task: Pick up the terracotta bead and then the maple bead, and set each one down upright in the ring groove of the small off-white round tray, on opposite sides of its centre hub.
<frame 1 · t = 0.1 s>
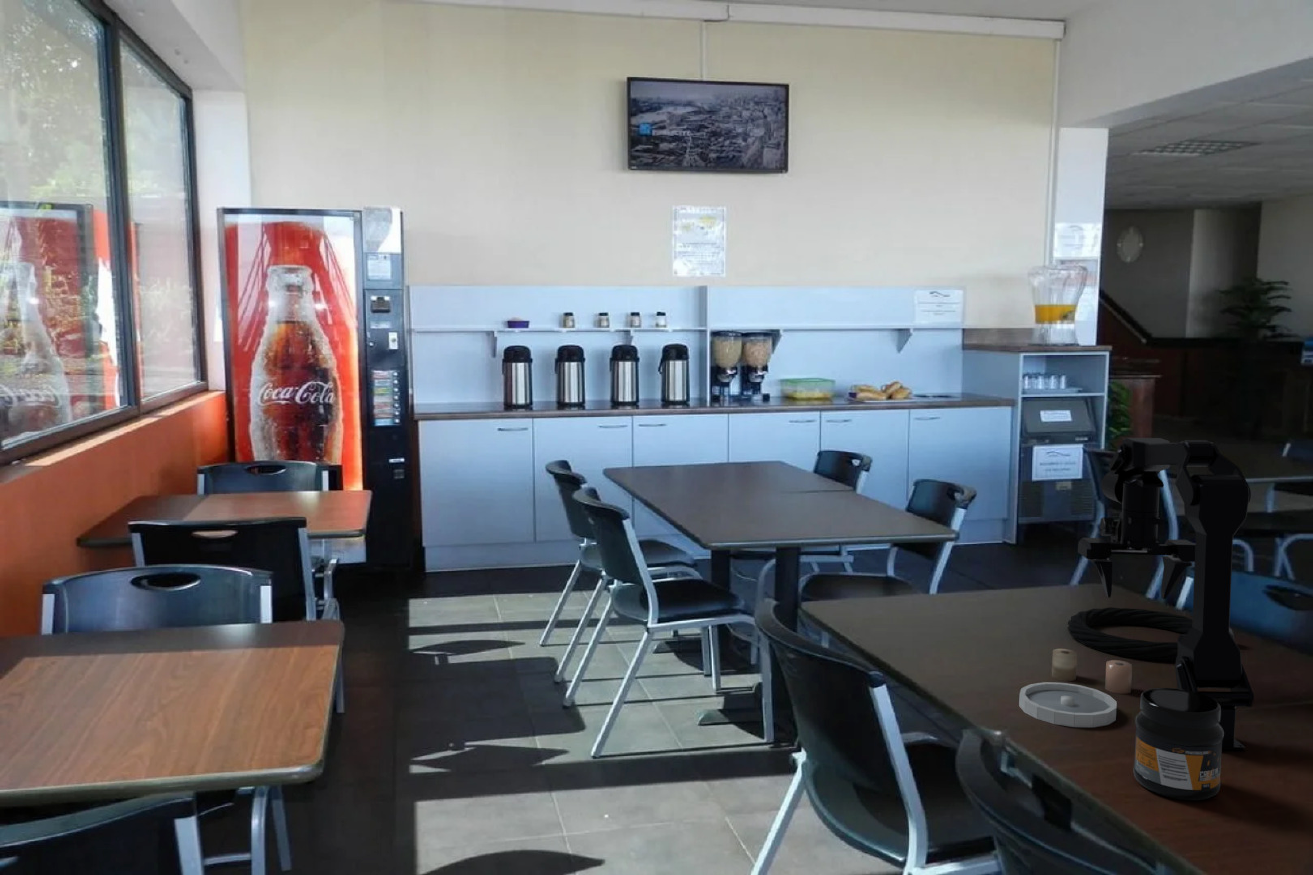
hand: (1135, 597, 177), 14 cm above the table, tool pointing down, fingers open, 9 cm apart
supplement container: (1175, 787, 136), on the table
maple bead: (1063, 677, 179), on the table
terracotta bead: (1117, 689, 173), on the table
cable lock: (1148, 643, 200), on the table
ring tray: (1067, 709, 164), on the table
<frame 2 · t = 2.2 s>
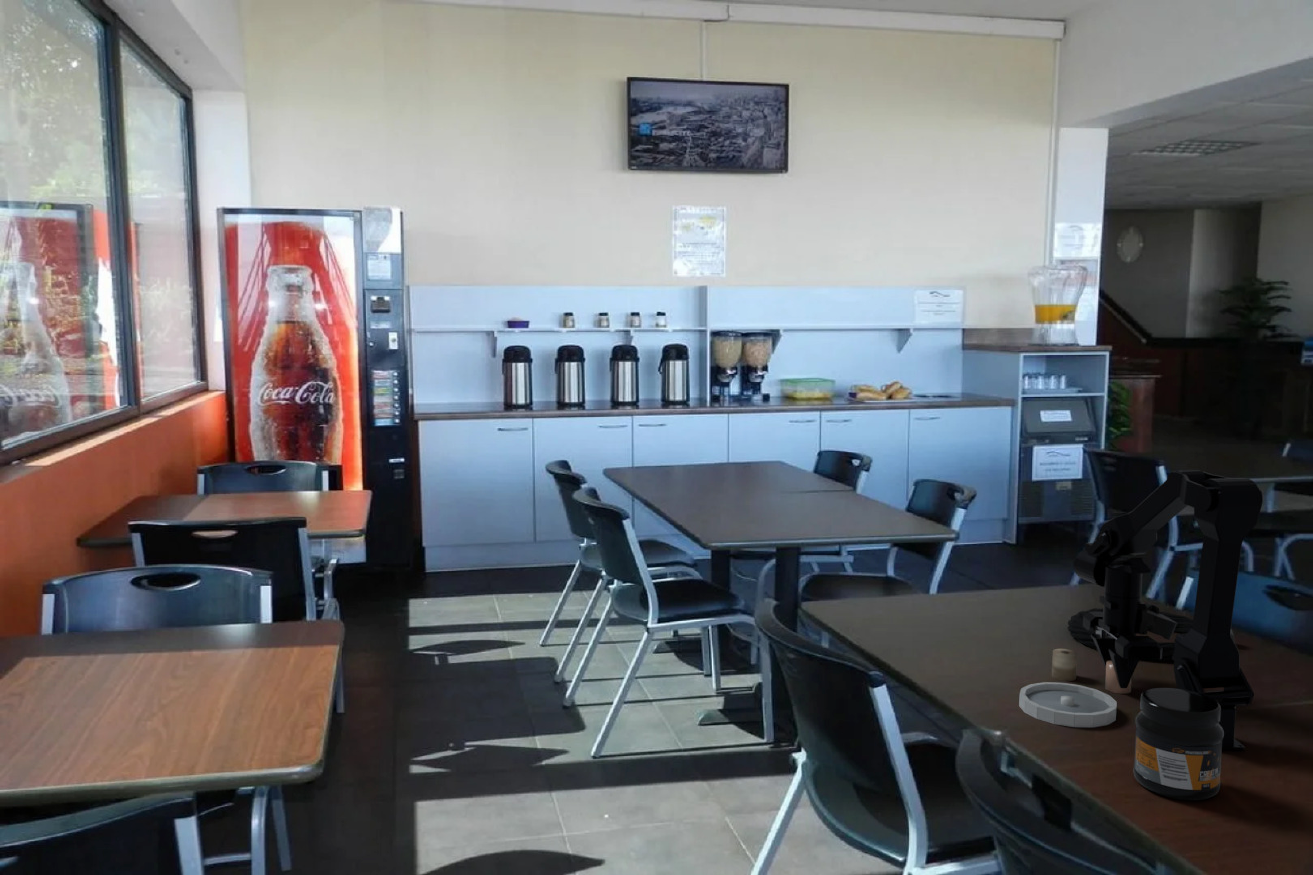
hand: (1118, 683, 173), 1 cm above the table, tool pointing down, fingers closed on terracotta bead, 4 cm apart
terracotta bead: (1117, 689, 173), on the table, touching gripper
everything else where it was.
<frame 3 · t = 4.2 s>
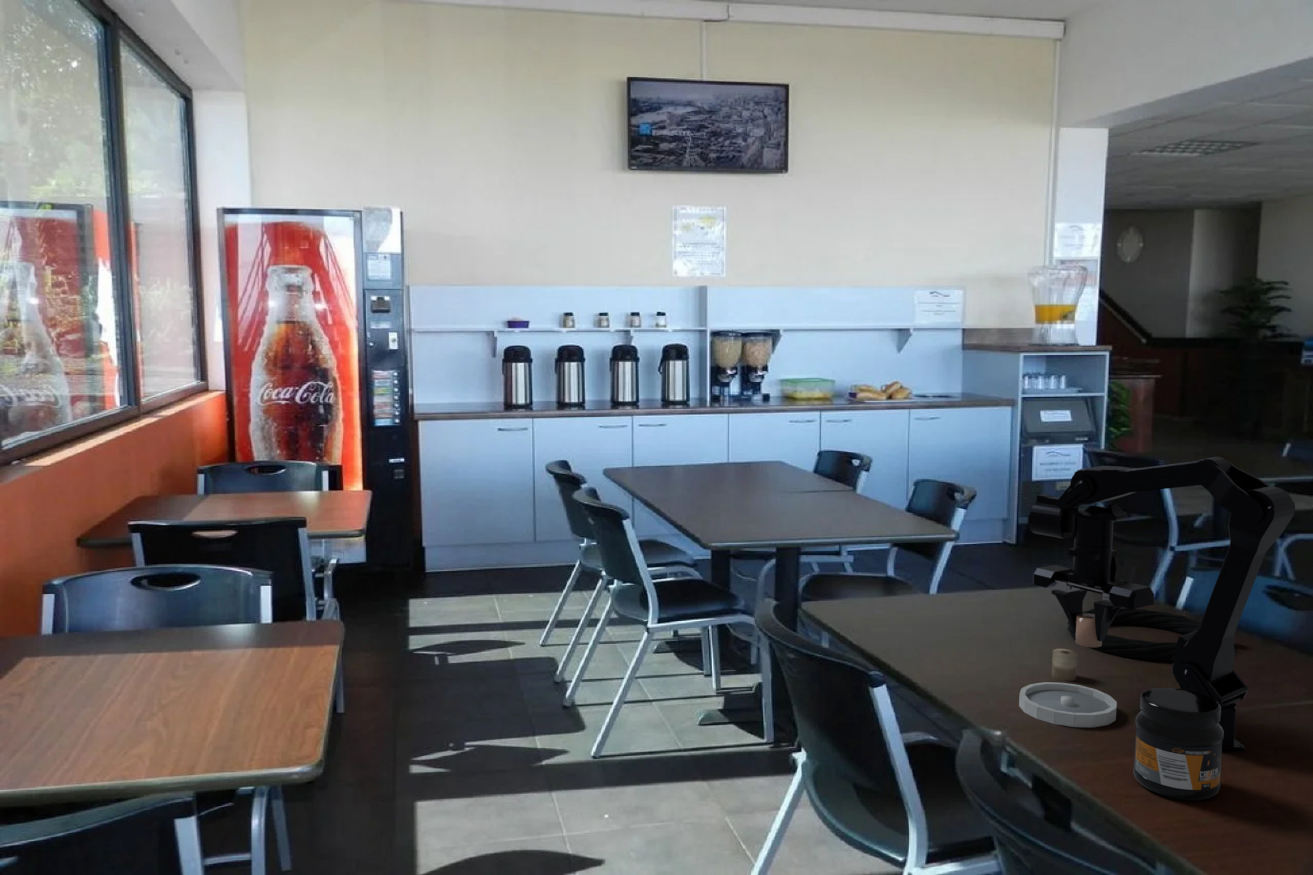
hand: (1088, 637, 166), 11 cm above the table, tool pointing down, fingers closed on terracotta bead, 4 cm apart
terracotta bead: (1088, 643, 166), point 10 cm above the table, touching gripper
everything else where it was.
when the fingers open (4 cm above the table, at t = 6.1 s): terracotta bead drops 1 cm, resting on ring tray.
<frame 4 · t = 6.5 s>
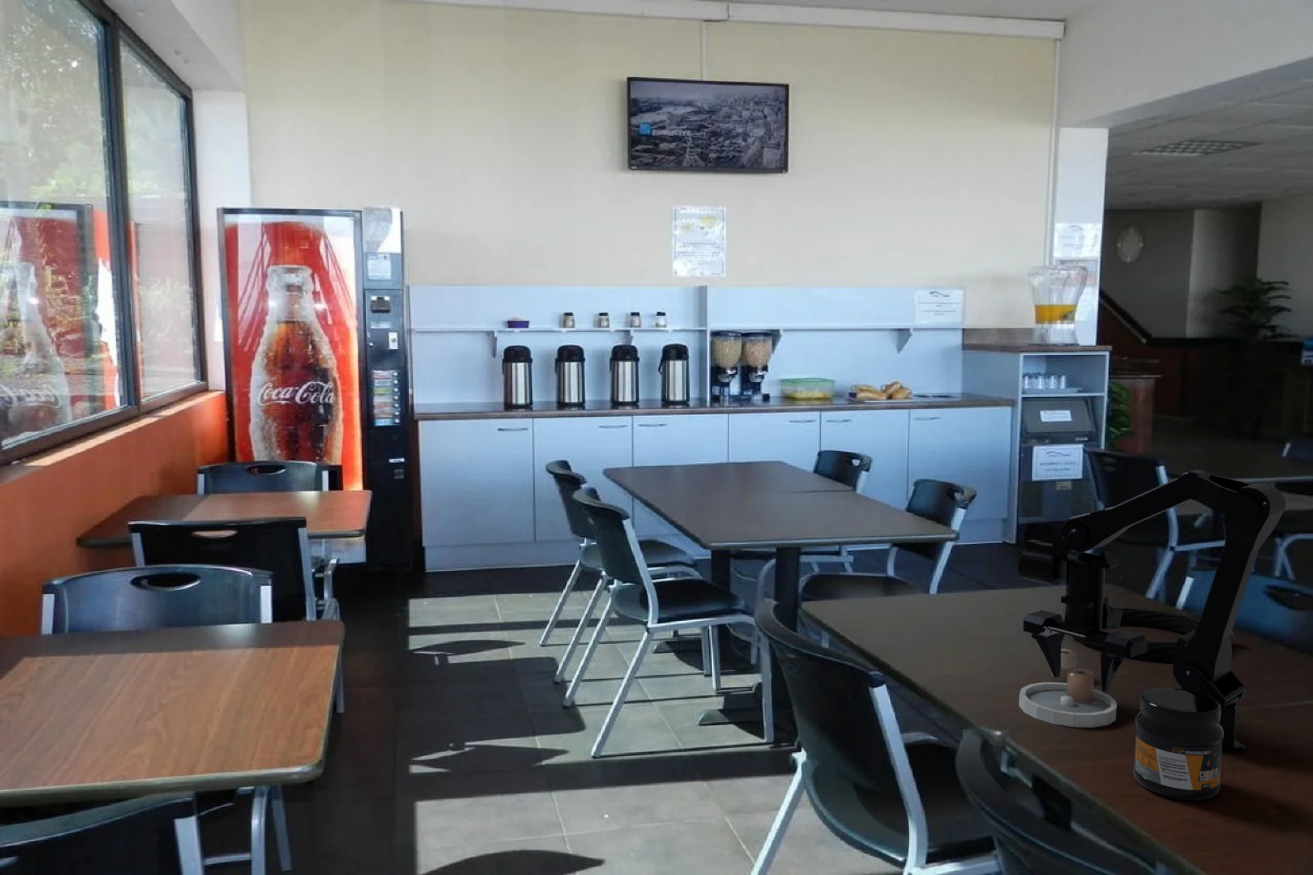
hand: (1080, 684, 165), 4 cm above the table, tool pointing down, fingers open, 8 cm apart
terracotta bead: (1079, 698, 166), point 1 cm above the table, touching ring tray
everything else where it was.
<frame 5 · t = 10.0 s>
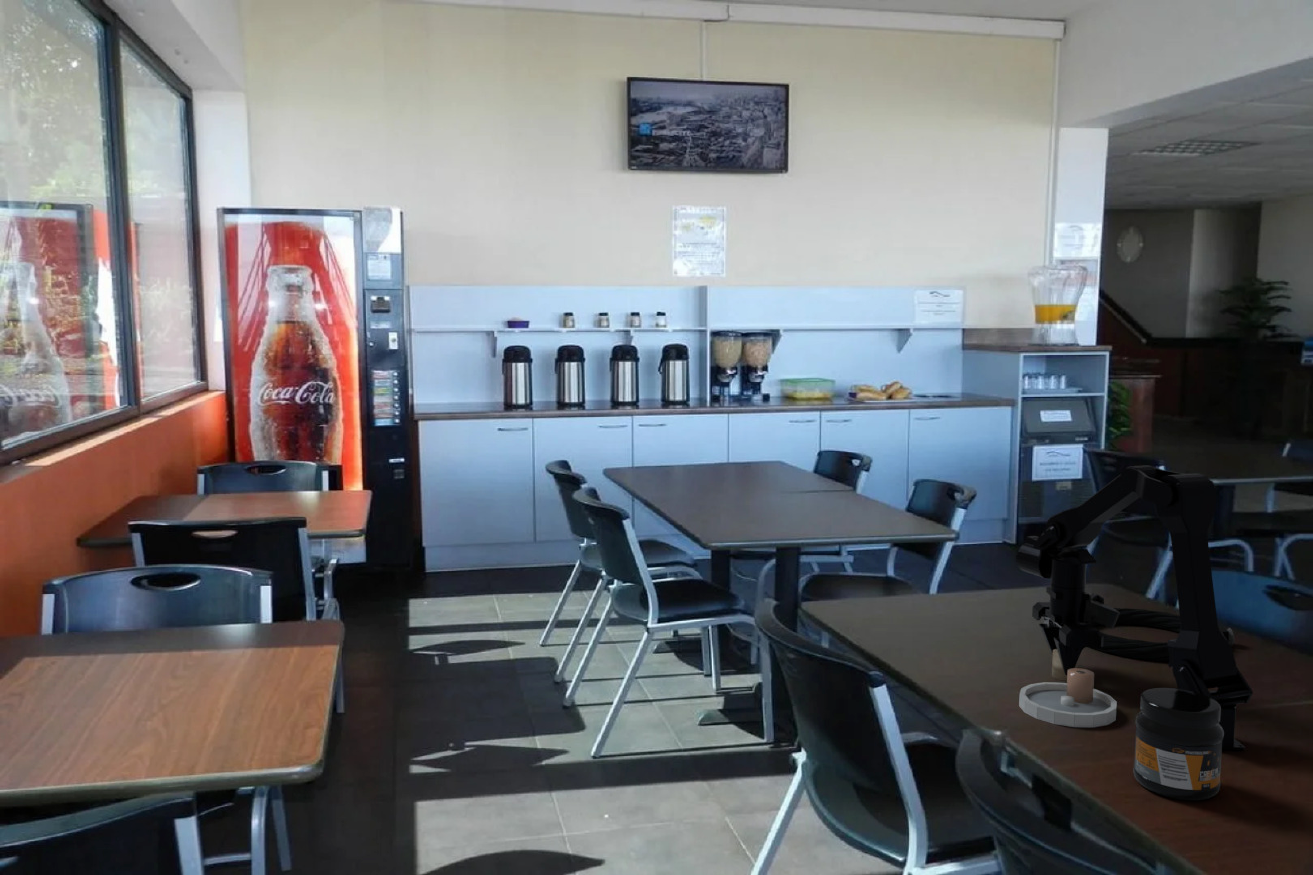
hand: (1064, 671, 179), 1 cm above the table, tool pointing down, fingers closed on maple bead, 4 cm apart
maple bead: (1063, 676, 179), on the table, touching gripper
everything else where it was.
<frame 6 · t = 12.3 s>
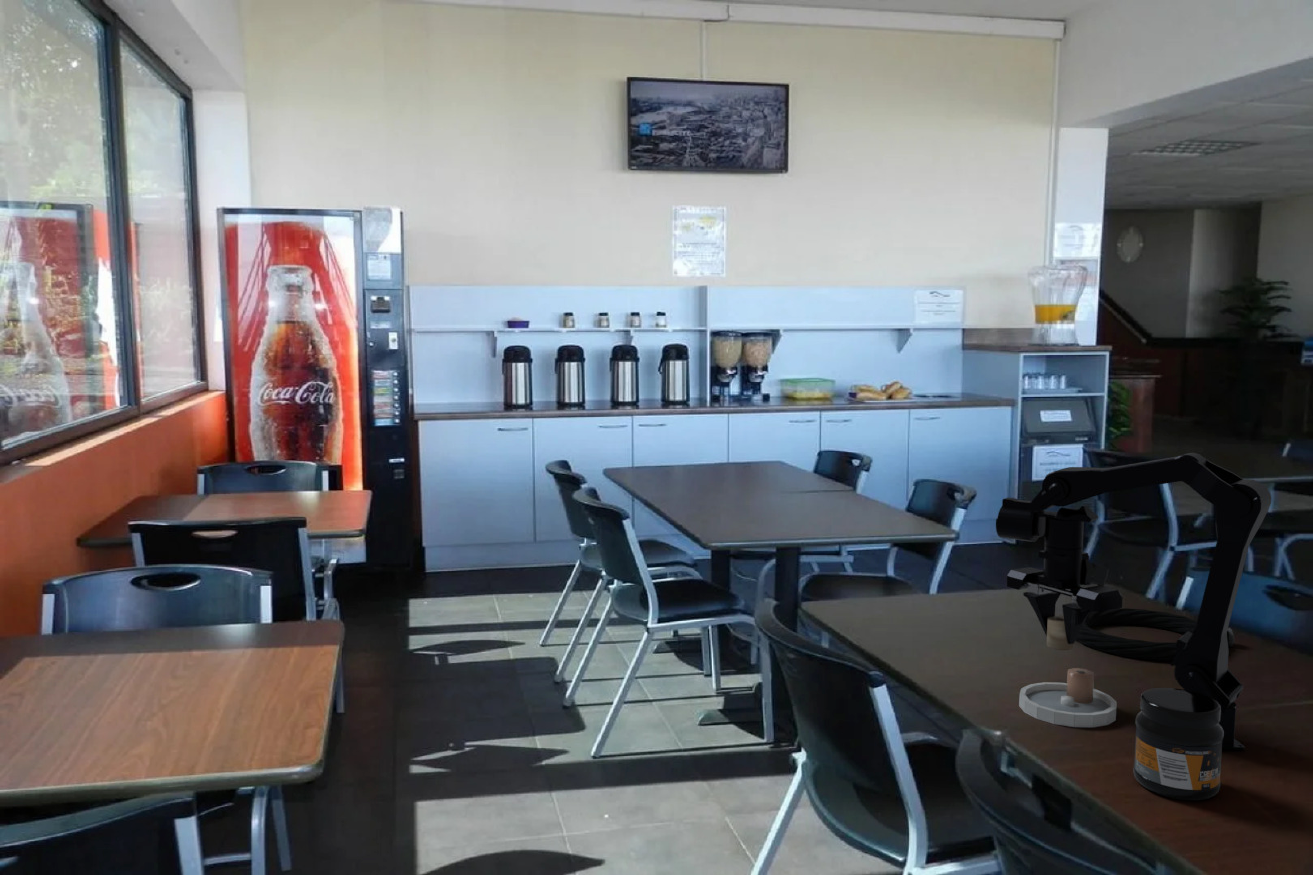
hand: (1060, 640, 165), 11 cm above the table, tool pointing down, fingers closed on maple bead, 4 cm apart
maple bead: (1059, 646, 165), point 10 cm above the table, touching gripper
everything else where it was.
when the fingers open (4 cm above the table, at t = 14.5 s): maple bead drops 1 cm, resting on ring tray.
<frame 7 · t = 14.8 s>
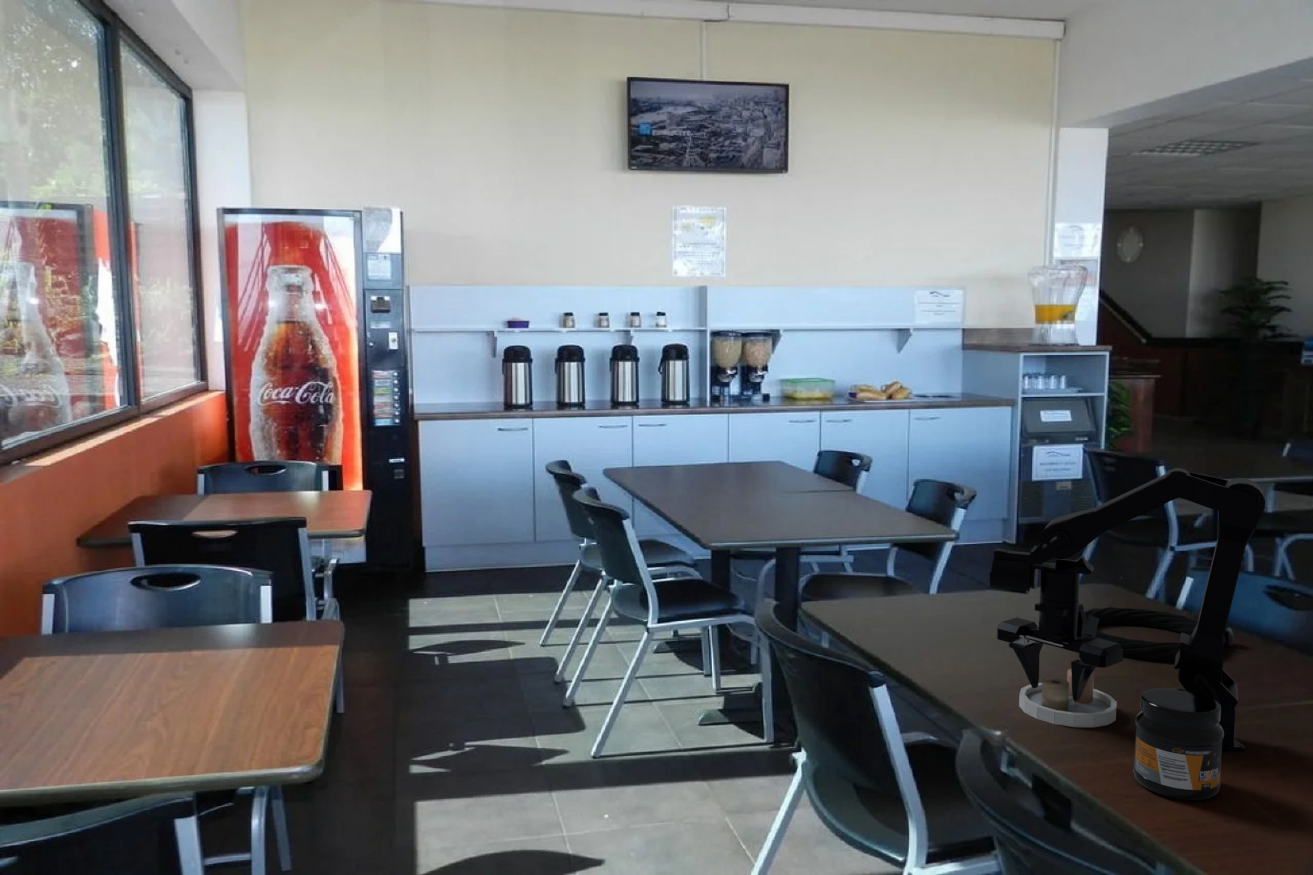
hand: (1055, 693, 161), 4 cm above the table, tool pointing down, fingers open, 7 cm apart
maple bead: (1054, 709, 161), point 1 cm above the table, touching ring tray
everything else where it was.
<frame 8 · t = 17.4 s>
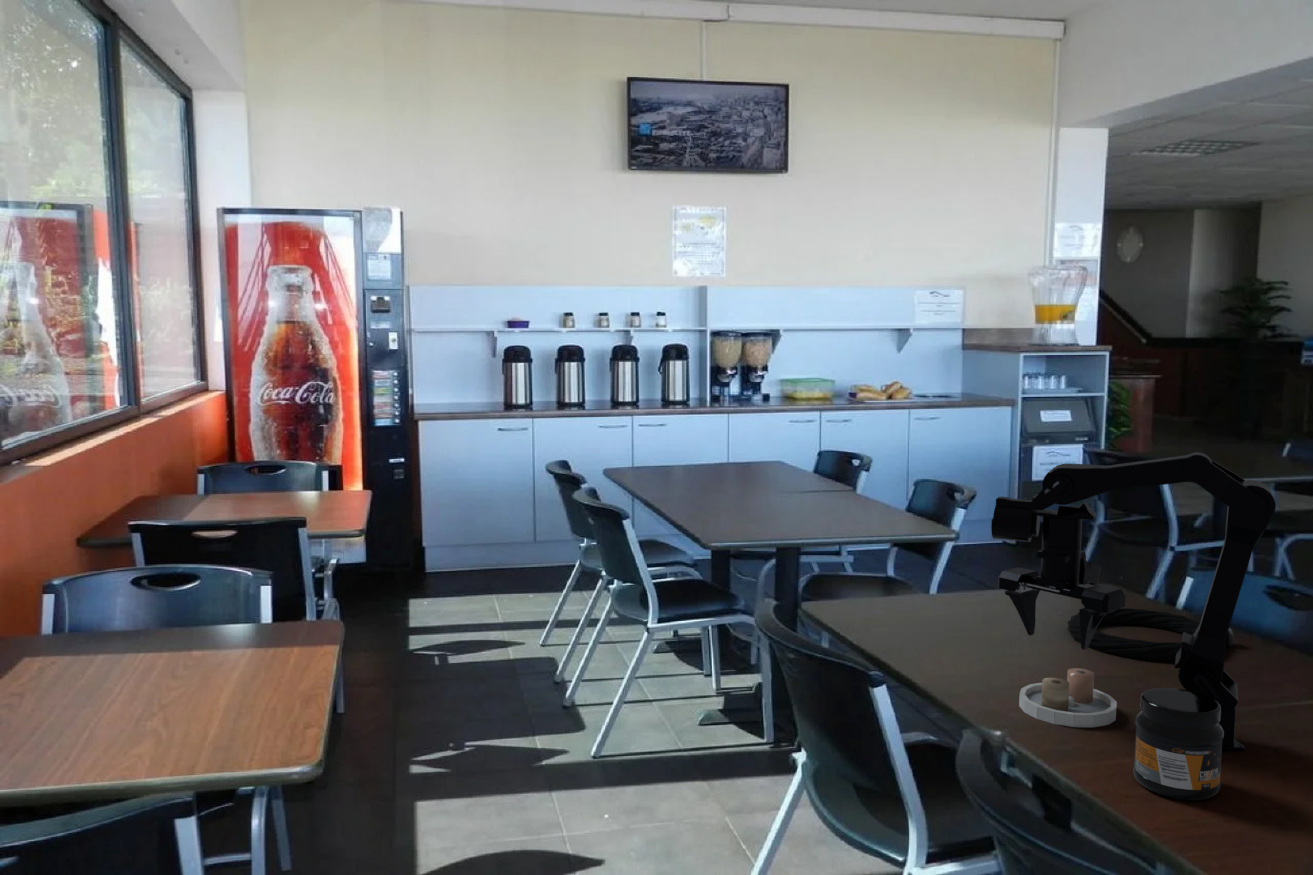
hand: (1057, 641, 160), 12 cm above the table, tool pointing down, fingers open, 9 cm apart
nothing on the table moved.
at the end: terracotta bead 0.2 cm from the target spot on the ring tray, point 1.0 cm above the ring tray's base; maple bead 0.2 cm from the target spot on the ring tray, point 1.0 cm above the ring tray's base; maple bead tilted 0° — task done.
